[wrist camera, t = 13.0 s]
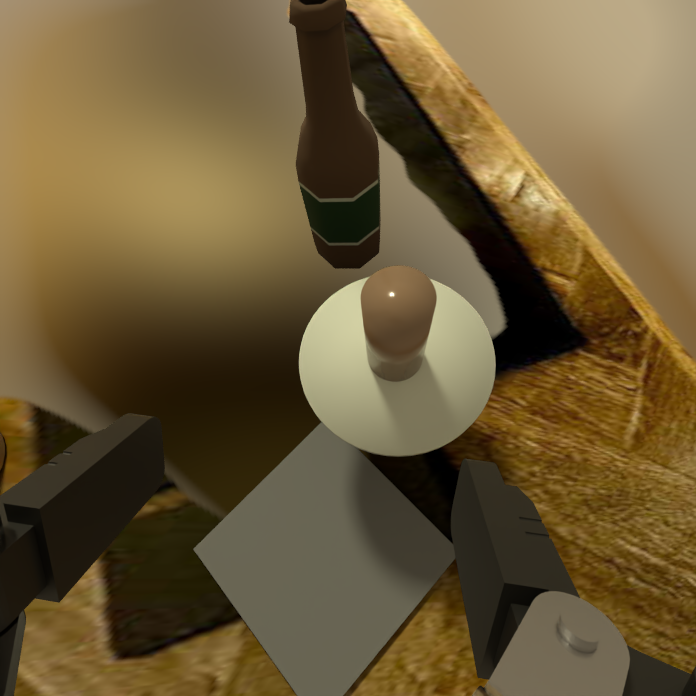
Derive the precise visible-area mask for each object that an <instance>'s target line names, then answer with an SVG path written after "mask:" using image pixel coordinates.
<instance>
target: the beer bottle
mask: <svg viewBox="0 0 696 696" xmlns="http://www.w3.org/2000/svg"><path fill="white" fill-rule="evenodd" d="M346 7H347V4H346V1H345V0H291V2H290V19H289V22H290V23H291V24H292V25H294V26H295V27H296V33H297V42H298V49H299V57H300V64H301V72H302V80H303V87H304V95H305V102H306V117H305V119H304V122H303V124H302V126H301V132H300V138H299V145H298V152H297V160H296V169H297V175H298V181H299V185H300V189H301V192H302V196H303V200H304V204H305V208H306V212H307V215H308V219H309V223H310V227H311V231H312V234H313V238H314V242H315V245H316V248H317V251H318V253H319V254H320V255H321V256H322V257H323V258H325V259H326V260H327V261H328V262H329V263H330V264H331V265H332V266H333V267H334V268H361V267H362V266H363V265H364V264H366V263H367V262H368V261H370V260H371V259H372V258H373V257H375V256H376V255H377V254H378V253H379V242H380V180H379V150H378V140H377V136H376V134H375V132H374V130H373V127H372V125H371V123H370V122H369V121H368V120H367V119H366V118H365V117H364V115H363V114H362V113H361V112H360V111H359V110H358V108H357V104H356V100H355V97H354V92H353V86H352V79H351V72H350V65H349V57H348V50H347V43H346V36H345V28H344V20H345V17H346Z"/></svg>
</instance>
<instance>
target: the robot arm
mask: <svg viewBox="0 0 696 696" xmlns="http://www.w3.org/2000/svg"><path fill="white" fill-rule="evenodd" d="M4 456H5V443H4V439H3V436H2V434H1V433H0V470H1V468H2V465H3V462H4ZM164 469H165V467H164V453H163V441H162V428H161V423H160V420H159V419H158V418H156V417H151V416H143V415H136V414H126V415H124V416H122V417H121V418H120V419H118V420H117V421H116V422H114V423H113V424H111V425H110V426H109V427H107V428H106V429H103V430H101V431H98V432H96V433H94V434H91V435H89V436H86V437H84V438H82V439H80V440H79V441H77V442H76V443H74V444H73V445H72V446H70V447H69V448H67V449H66V450H64V452H63V454H59V455H57V456H56V457H55V458H53V459H52V460H50V461H49V463H48V465H47V464H45V465H43V466H42V467H40V468H39V469H37V470H36V471H35V472H33V473H32V474H30V475H29V476H28V477H26V478H25V479H23V480H22V481H20V482H19V483H18V484H16V485H15V486H13V487H12V488H10V489H9V490H8V491H6V492H5V493H3V494H2V495H0V696H14V690H15V684H16V678H17V672H18V666H19V660H20V654H21V648H22V642H23V636H24V630H25V624H26V616H25V612H24V609H25V608H26V607H27V606H28V605H29V604H30V603H31V602H32V601H33V600H34V598H36V599H42V600H48V601H53V602H60V601H61V600H62V599H63V598H64V596H65V595H66V594H67V593H68V592H69V591H70V590H71V588H72V587H73V586H74V585H75V584H76V583H77V582H78V580H79V579H80V578H81V577H82V576H83V575H84V573H85V572H86V571H87V570H88V569H89V568H90V567H91V565H92V564H93V563H94V562H95V561H96V560H97V559H98V557H99V556H100V555H101V554H102V553H103V552H104V551H105V549H106V548H107V547H108V546H109V545H110V544H111V542H112V541H113V540H114V539H115V538H116V537H117V536H118V534H119V533H120V532H121V531H122V530H123V529H124V528H125V526H126V525H127V524H128V523H129V522H130V521H131V520H132V518H133V517H134V516H135V515H136V514H137V513H138V511H139V510H140V509H141V508H142V507H143V506H144V505H145V503H146V502H147V501H148V500H149V499H150V498H151V497H152V495H153V494H154V493H155V492H156V491H157V489H158V488H159V486H160V484H161V482H162V479H163V475H164ZM541 521H542V520H541V518H540V516H539V514H538V512H537V510H536V508H535V506H534V504H533V502H532V501H531V500H530V499H529V498H528V497H527V496H526V495H525V494H524V493H523V492H522V491H521V490H520V489H519V488H518V487H517V486H509V485H505V484H504V481H503V479H502V476H501V474H500V472H499V469H498V467H497V465H496V464H495V463H494V462H486V461H478V460H471V459H463V461H462V464H461V467H460V472H459V477H458V482H457V487H456V492H455V496H454V501H453V506H452V513H451V534H452V540H453V546H454V551H455V556H456V562H457V567H458V573H459V578H460V583H461V589H462V594H463V600H464V605H465V610H466V616H467V621H468V627H469V632H470V638H471V643H472V648H473V654H474V659H475V665H476V670H477V675H478V678H483V679H489V681H488V683H487V684H486V686H485V687H484V688H483V687H482V686H479V687H478V688H477V690H476V691H475V692H474V694H473V695H472V696H696V667H695V668H694V670H693V672H692V674H689V673H687V672H684V671H682V670H680V669H678V668H675V667H673V666H671V665H668V664H666V663H664V662H661V661H659V660H657V659H655V658H652V657H650V656H648V655H645V654H643V653H641V652H639V651H637V650H635V649H633V648H631V647H629V646H628V645H626V643H625V641H624V639H623V637H622V635H621V634H620V632H619V631H618V629H617V628H616V627H615V626H614V624H613V623H612V622H611V621H610V620H609V619H608V618H607V617H606V616H605V615H604V614H603V613H602V612H600V611H599V610H598V609H597V608H595V607H594V606H592V605H591V604H589V603H588V602H586V601H584V600H582V599H581V598H580V597H579V595H578V593H577V591H576V589H575V587H574V585H573V583H572V581H571V578H570V576H569V574H568V572H567V570H566V568H565V566H564V564H563V562H562V560H561V558H560V556H559V554H558V552H557V550H556V548H555V546H554V544H553V542H552V540H551V539H549V534H548V532H547V530H546V528H545V526H544V524H542V522H541Z"/></svg>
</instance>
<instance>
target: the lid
mask: <svg viewBox="0 0 696 696" xmlns="http://www.w3.org/2000/svg"><path fill="white" fill-rule="evenodd" d="M495 366H496V364H495V352H494V348H493V343H492V340H491V337H490V334H489V332H488V329H487V327H486V326H485V324H484V322H483V320H482V318H481V317H480V316H479V314H478V313H477V312H476V310H475V309H474V308H473V307H472V306H471V305H470V304H469V303H468V302H467V301H466V300H465V299H464V298H463V297H462V296H460V295H459V294H458V293H457V292H455V291H453V290H452V289H450V288H449V287H447V286H445V285H443V284H441V283H439V282H437V281H434V280H431V279H429V278H428V277H427V276H426V275H425V274H424V273H422V272H420V271H419V270H417V269H414V268H412V267H408V266H400V265H399V266H398V265H397V266H389V267H386V268H383V269H381V270H378V271H377V272H375V273H374V274H372V275H371V276H370V277H367V278H364V279H361V280H358V281H356V282H353V283H351V284H349V285H347V286H345V287H344V288H342V289H340V290H339V291H338V292H336V293H335V294H334V295H332V296H331V297H330V298H329V299H327V300H326V301H325V302H324V304H322V305H321V306H320V308H319V309H318V310H317V312H316V313H315V314H314V316H313V317H312V319H311V321H310V323H309V324H308V326H307V329H306V331H305V333H304V336H303V340H302V343H301V347H300V355H299V371H300V378H301V383H302V386H303V390H304V393H305V395H306V397H307V400H308V402H309V404H310V406H311V407H312V409H313V410H314V412H315V413H316V415H317V416H318V418H319V419H320V420H321V421H322V423H323V424H324V425H325V426H326V427H327V428H328V429H329V430H330V431H331V432H332V433H334V434H335V435H336V436H337V437H339V438H340V439H342V440H343V441H345V442H346V443H348V444H350V445H352V446H354V447H356V448H358V449H360V450H363V451H366V452H369V453H373V454H378V455H383V456H395V457H403V456H414V455H419V454H423V453H427V452H430V451H433V450H436V449H438V448H440V447H442V446H444V445H446V444H448V443H450V442H452V441H453V440H454V439H456V438H457V437H459V436H460V435H461V434H462V433H463V432H464V431H465V430H467V429H468V428H469V427H470V426H471V425H472V424H473V422H474V421H475V420H476V419H477V417H478V416H479V415H480V413H481V412H482V410H483V408H484V407H485V405H486V403H487V401H488V399H489V396H490V394H491V391H492V388H493V383H494V378H495Z"/></svg>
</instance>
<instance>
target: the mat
mask: <svg viewBox="0 0 696 696" xmlns="http://www.w3.org/2000/svg"><path fill="white" fill-rule="evenodd" d="M194 551H195V552H196V554H197V555H198V556H199V558H200V559H201V561H202V562H203V563H204V565H205V566H206V568H207V569H208V570H209V572H210V573H211V575H212V576H213V578H214V579H215V580H216V582H217V583H218V585H219V586H220V587H221V589H222V590H223V592H224V593H225V594H226V596H227V597H228V599H229V600H230V601H231V603H232V604H233V606H234V607H235V608H236V610H237V611H238V613H239V614H240V615H241V617H242V618H243V620H244V621H245V623H246V624H247V625H248V627H249V628H250V630H251V631H252V632H253V634H254V635H255V637H256V638H257V639H258V641H259V642H260V644H261V645H262V646H263V648H264V649H265V651H266V652H267V653H268V655H269V656H270V658H271V659H272V660H273V662H274V663H275V665H276V666H277V668H278V669H279V670H280V672H281V673H282V675H283V676H284V677H285V679H286V680H287V682H288V683H289V684H290V686H291V687H292V689H293V690H294V691H295V693H296V694H297V696H343V695H344V694H345V693H346V692H347V690H348V689H349V688H350V687H351V685H352V684H353V683H354V682H355V681H356V679H357V678H358V677H359V676H360V674H361V673H362V672H363V671H364V670H365V668H366V667H367V666H368V665H369V663H370V662H371V661H372V660H373V659H374V657H375V656H376V655H377V654H378V652H379V651H380V650H381V649H382V648H383V646H384V645H385V644H386V643H387V641H388V640H389V639H390V638H391V636H392V635H393V634H394V633H395V632H396V630H397V629H398V628H399V627H400V625H401V624H402V623H403V622H404V621H405V619H406V618H407V617H408V616H409V614H410V613H411V612H412V611H413V610H414V608H415V607H416V606H417V605H418V603H419V602H420V601H421V600H422V599H423V597H424V596H425V595H426V594H427V592H428V591H429V590H430V589H431V587H432V586H433V585H434V584H435V583H436V581H437V580H438V579H439V578H440V576H441V575H442V574H443V573H444V572H445V570H446V569H447V568H448V567H449V565H450V564H451V563H452V562H453V561H454V559H455V558H456V556H455V551H454V546H453V544H452V543H451V542H450V541H449V540H448V539H447V538H446V537H445V536H444V535H443V534H442V533H441V532H440V531H439V530H438V529H437V528H436V527H435V526H434V525H433V524H432V523H431V522H430V521H429V520H428V519H427V518H426V517H425V516H424V515H423V514H422V513H421V512H420V511H419V510H418V509H417V508H416V507H415V506H414V505H413V504H412V503H411V502H410V501H409V500H408V499H407V498H406V497H405V496H404V495H403V494H402V493H401V492H400V491H399V490H398V489H397V488H396V487H395V486H394V485H393V484H392V483H391V482H390V481H389V480H388V479H387V478H386V477H385V476H384V475H383V474H382V473H381V472H380V471H379V470H378V469H377V468H376V467H375V466H374V465H373V464H372V463H371V462H370V461H369V460H368V459H367V458H366V457H365V456H364V455H363V454H362V453H361V452H360V451H359V450H358V449H357V448H356V447H354V446H352V445H350V444H348V443H346V442H345V441H343V440H342V439H340V438H339V437H337V436H336V435H335V434H334V433H332V432H331V431H330V430H329V429H328V428H327V427H326V426H325V425H324V424H323V423H322V422H321V423H320V424H319V425H318V426H317V427H316V428H315V429H314V430H313V431H312V432H311V433H310V434H309V435H308V436H307V437H306V438H305V439H304V440H303V441H302V442H301V443H300V444H299V445H298V446H297V447H296V448H295V449H294V450H293V451H292V452H291V453H290V454H289V455H288V456H287V457H286V458H285V459H284V460H283V461H282V462H281V463H280V464H279V465H278V466H277V467H276V468H275V469H274V470H273V471H272V472H271V473H270V474H269V475H268V476H267V477H266V478H265V479H264V480H263V481H262V482H261V483H260V484H259V485H258V486H257V487H256V488H255V489H254V490H253V491H252V492H251V493H250V494H249V495H248V496H247V497H246V498H245V499H244V500H243V501H242V502H241V503H240V504H238V506H236V507H235V508H234V510H232V512H231V513H229V514H228V515H227V516H226V517H225V518H224V519H223V520H222V521H221V522H220V523H219V524H218V525H217V526H216V527H215V528H214V529H213V530H212V531H211V532H210V533H209V534H208V535H207V536H206V537H205V538H204V539H203V540H202V541H201V542H200V543H199V544H198V545H197V546H196V547H195V548H194Z"/></svg>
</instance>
